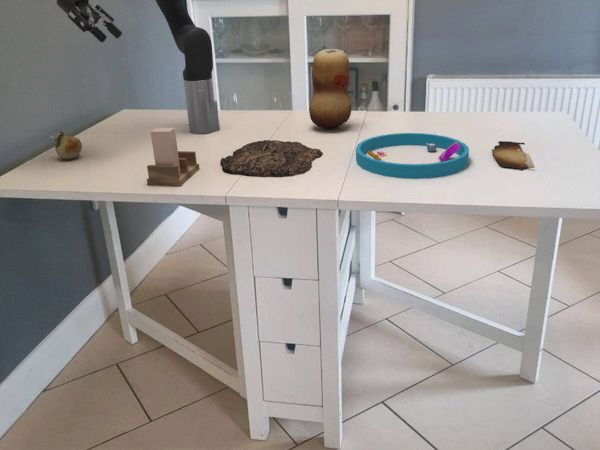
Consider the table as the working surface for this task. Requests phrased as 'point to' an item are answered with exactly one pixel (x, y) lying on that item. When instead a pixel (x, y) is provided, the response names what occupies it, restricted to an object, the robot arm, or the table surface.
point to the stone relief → (270, 159)
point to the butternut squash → (330, 89)
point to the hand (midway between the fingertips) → (112, 37)
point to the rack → (173, 171)
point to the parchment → (512, 155)
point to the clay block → (165, 147)
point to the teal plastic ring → (412, 169)
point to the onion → (67, 146)
